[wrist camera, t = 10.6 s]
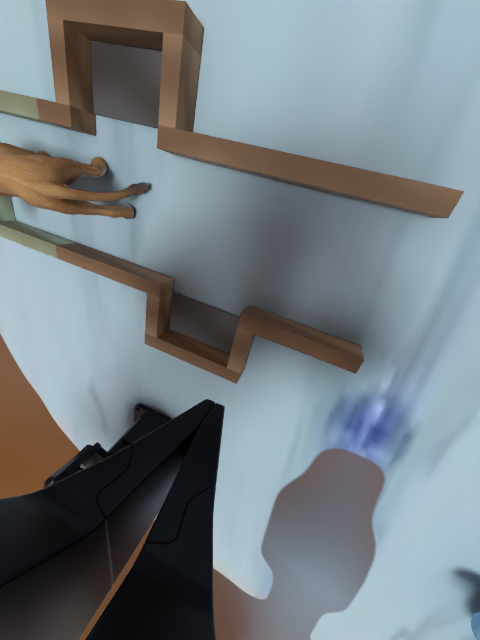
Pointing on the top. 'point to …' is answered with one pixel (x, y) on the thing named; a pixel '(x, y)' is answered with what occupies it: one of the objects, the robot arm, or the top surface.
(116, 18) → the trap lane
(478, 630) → the decorative pot
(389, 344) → the top surface
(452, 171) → the top surface
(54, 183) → the lion figurine
